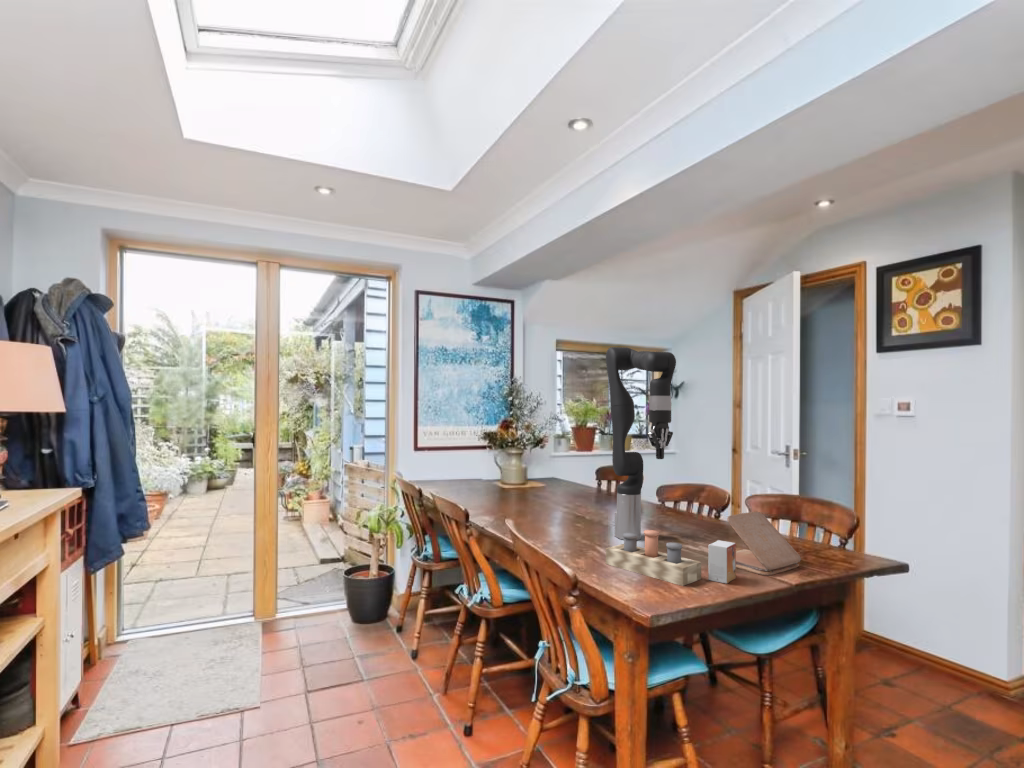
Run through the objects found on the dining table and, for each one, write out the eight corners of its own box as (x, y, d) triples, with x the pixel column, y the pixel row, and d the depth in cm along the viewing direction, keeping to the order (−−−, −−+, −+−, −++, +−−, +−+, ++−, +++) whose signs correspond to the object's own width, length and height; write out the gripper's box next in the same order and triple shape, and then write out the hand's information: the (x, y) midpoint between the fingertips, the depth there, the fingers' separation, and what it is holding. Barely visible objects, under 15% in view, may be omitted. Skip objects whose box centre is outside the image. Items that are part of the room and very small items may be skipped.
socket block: (605, 563, 178) (605, 548, 178) (624, 558, 185) (624, 543, 185) (682, 586, 157) (682, 568, 157) (701, 579, 164) (701, 562, 164)
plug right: (663, 577, 165) (663, 544, 166) (671, 574, 168) (671, 541, 169) (676, 580, 162) (676, 547, 162) (685, 577, 165) (685, 544, 165)
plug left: (620, 565, 177) (620, 534, 178) (628, 562, 180) (628, 532, 181) (631, 568, 174) (631, 537, 174) (640, 565, 177) (640, 534, 177)
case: (767, 578, 166) (768, 524, 167) (708, 561, 184) (709, 512, 184) (804, 568, 177) (804, 518, 178) (745, 553, 195) (745, 507, 196)
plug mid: (640, 563, 171) (640, 531, 172) (649, 560, 174) (649, 529, 175) (653, 566, 168) (653, 534, 168) (662, 563, 171) (662, 531, 171)
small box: (727, 584, 159) (726, 547, 160) (707, 580, 163) (707, 544, 163) (736, 578, 165) (736, 542, 166) (717, 574, 169) (717, 539, 169)
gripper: (661, 409, 199) (661, 457, 198) (639, 408, 190) (639, 459, 189) (680, 409, 193) (680, 458, 192) (658, 409, 184) (658, 461, 184)
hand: (659, 458), depth 191 cm, fingers closed
